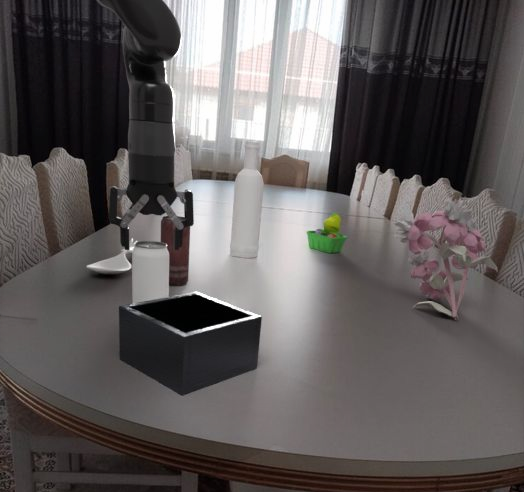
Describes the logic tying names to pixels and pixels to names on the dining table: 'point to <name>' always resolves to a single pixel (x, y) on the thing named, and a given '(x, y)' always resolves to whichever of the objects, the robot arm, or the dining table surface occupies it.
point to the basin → (189, 340)
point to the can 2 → (176, 252)
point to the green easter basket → (327, 236)
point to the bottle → (247, 205)
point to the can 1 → (150, 271)
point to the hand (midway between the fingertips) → (151, 249)
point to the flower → (443, 251)
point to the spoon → (114, 262)
